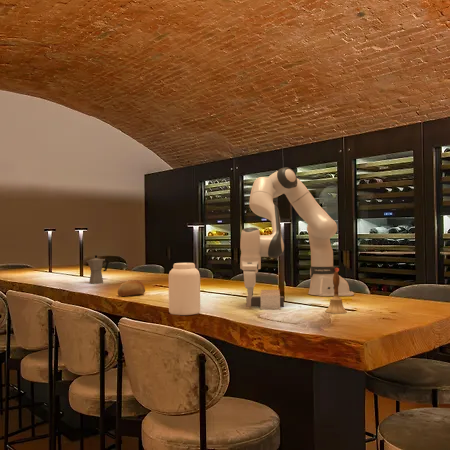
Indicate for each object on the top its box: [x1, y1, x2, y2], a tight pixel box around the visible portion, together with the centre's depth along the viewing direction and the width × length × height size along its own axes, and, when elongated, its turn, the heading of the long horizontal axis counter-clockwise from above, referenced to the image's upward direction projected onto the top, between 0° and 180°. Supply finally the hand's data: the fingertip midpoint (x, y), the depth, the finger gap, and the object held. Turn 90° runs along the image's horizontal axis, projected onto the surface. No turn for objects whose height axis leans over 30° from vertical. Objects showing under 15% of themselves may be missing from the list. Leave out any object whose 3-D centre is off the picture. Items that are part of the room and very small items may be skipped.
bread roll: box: [117, 279, 146, 298], centre depth 266 cm, size 10×15×8 cm, turn 128°
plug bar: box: [245, 295, 285, 308], centre depth 224 cm, size 16×4×4 cm, turn 85°
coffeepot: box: [85, 255, 110, 285], centre depth 336 cm, size 15×9×18 cm, turn 125°
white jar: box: [168, 262, 201, 316], centre depth 207 cm, size 12×12×20 cm
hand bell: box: [325, 271, 348, 315], centre depth 205 cm, size 8×8×16 cm
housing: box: [260, 289, 281, 311], centre depth 224 cm, size 8×20×6 cm, turn 175°
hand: (250, 296), depth 224 cm, fingers open, 8 cm apart
